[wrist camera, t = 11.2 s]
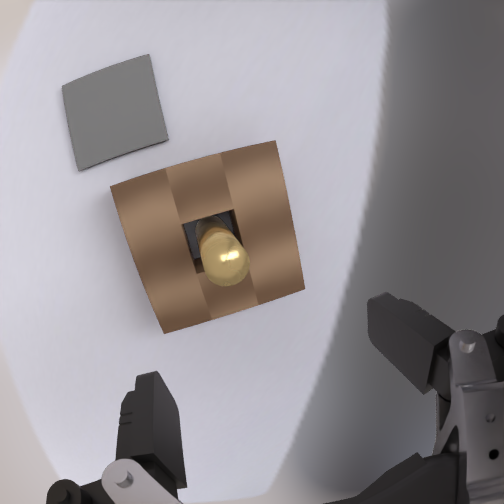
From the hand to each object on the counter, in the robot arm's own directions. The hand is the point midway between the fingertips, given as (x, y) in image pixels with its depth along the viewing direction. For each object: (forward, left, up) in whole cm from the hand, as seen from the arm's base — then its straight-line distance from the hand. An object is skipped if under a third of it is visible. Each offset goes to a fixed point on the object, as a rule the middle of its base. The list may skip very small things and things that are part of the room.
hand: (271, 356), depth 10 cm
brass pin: (0, 0, -20) cm, 20 cm away
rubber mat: (-14, -6, -20) cm, 25 cm away
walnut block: (0, 0, -20) cm, 20 cm away
